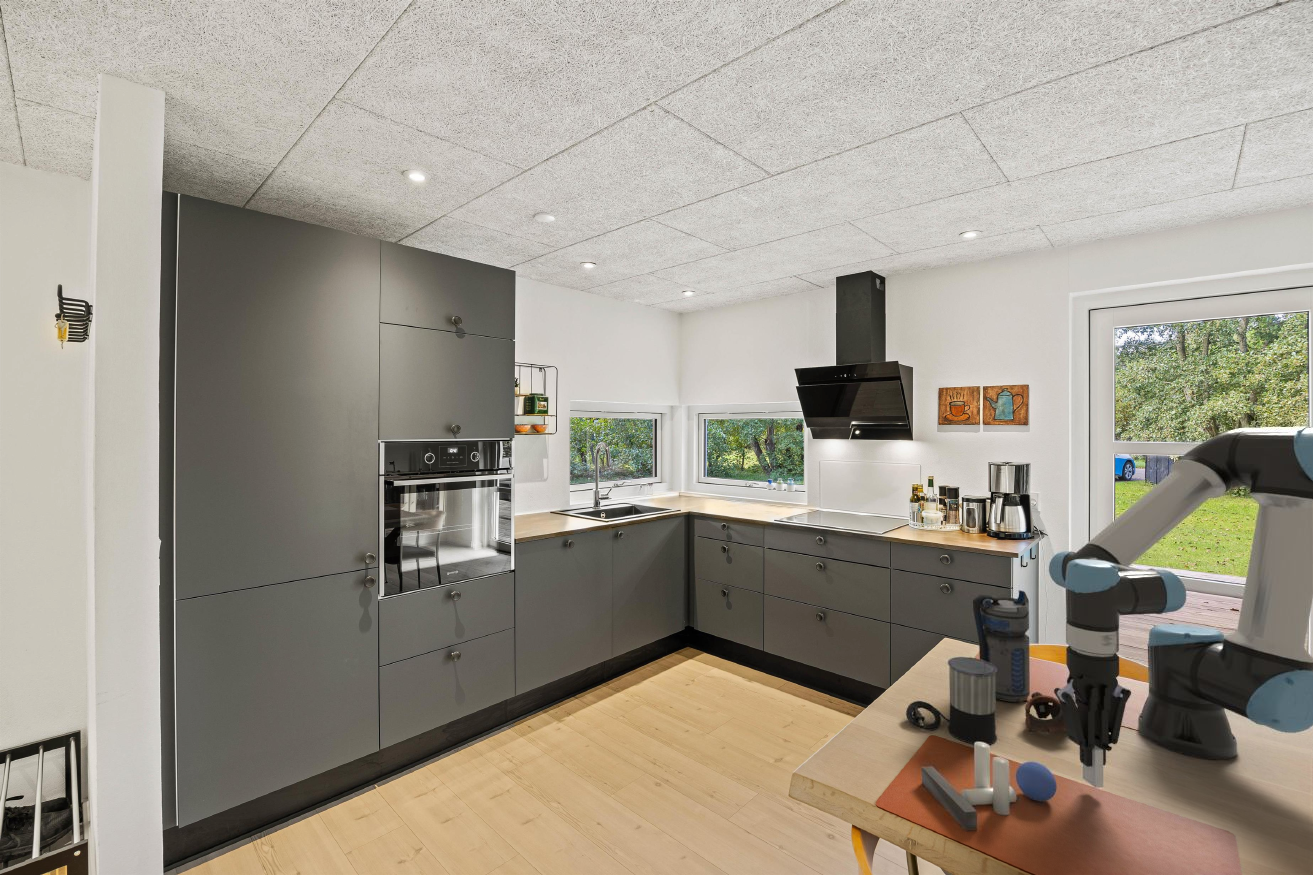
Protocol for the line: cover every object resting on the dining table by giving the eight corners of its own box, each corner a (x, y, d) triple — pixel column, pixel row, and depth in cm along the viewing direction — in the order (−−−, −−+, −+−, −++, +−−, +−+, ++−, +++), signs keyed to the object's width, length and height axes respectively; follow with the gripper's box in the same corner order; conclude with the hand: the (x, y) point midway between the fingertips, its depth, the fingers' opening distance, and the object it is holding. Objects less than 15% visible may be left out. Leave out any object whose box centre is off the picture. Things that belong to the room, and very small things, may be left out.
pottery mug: (1093, 744, 122) (1079, 714, 121) (1047, 761, 124) (1033, 731, 122) (1057, 703, 134) (1045, 675, 132) (1016, 719, 136) (1003, 691, 134)
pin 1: (984, 788, 107) (984, 741, 107) (993, 796, 105) (992, 748, 105) (971, 789, 107) (971, 741, 107) (980, 797, 105) (979, 749, 105)
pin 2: (1003, 805, 102) (1002, 756, 102) (1012, 814, 100) (1012, 764, 100) (989, 806, 102) (989, 757, 102) (999, 815, 100) (998, 765, 100)
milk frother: (1008, 744, 122) (1007, 671, 122) (937, 751, 120) (936, 677, 120) (963, 711, 136) (962, 646, 136) (898, 717, 134) (897, 651, 134)
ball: (1003, 782, 107) (1032, 792, 107) (1027, 802, 101) (1058, 813, 101) (1014, 750, 107) (1043, 760, 108) (1039, 769, 101) (1070, 779, 102)
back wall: (932, 782, 109) (932, 765, 109) (977, 829, 96) (977, 811, 96) (921, 783, 109) (921, 766, 109) (965, 830, 96) (965, 812, 96)
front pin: (1007, 782, 105) (961, 786, 104) (1016, 792, 102) (969, 796, 102) (1006, 795, 105) (960, 798, 104) (1015, 805, 103) (969, 808, 102)
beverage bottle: (962, 687, 149) (962, 587, 148) (1013, 684, 150) (1013, 585, 149) (988, 705, 139) (987, 598, 138) (1042, 703, 140) (1042, 596, 139)
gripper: (1074, 659, 101) (1075, 798, 101) (1145, 655, 102) (1146, 792, 102) (1041, 643, 108) (1042, 773, 108) (1108, 640, 109) (1108, 767, 110)
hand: (1092, 782), depth 105 cm, fingers closed
